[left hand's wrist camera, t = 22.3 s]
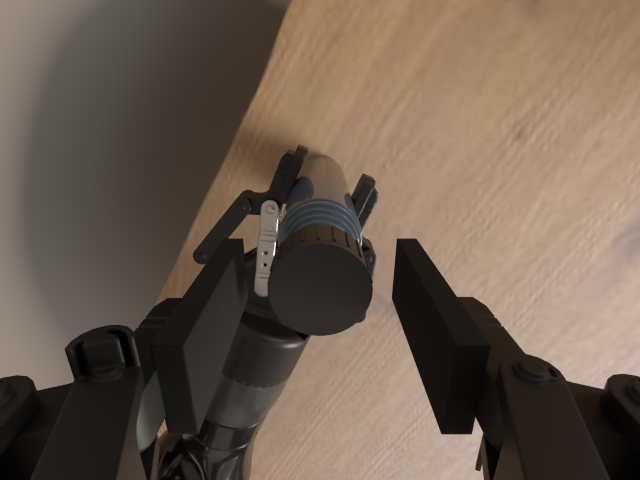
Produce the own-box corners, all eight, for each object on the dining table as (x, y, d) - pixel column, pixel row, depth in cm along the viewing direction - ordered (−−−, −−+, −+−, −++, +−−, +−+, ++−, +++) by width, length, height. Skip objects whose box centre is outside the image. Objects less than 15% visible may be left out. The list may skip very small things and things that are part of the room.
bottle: (291, 160, 30) (253, 238, 13) (341, 152, 29) (370, 222, 12) (299, 207, 31) (276, 334, 14) (347, 200, 31) (380, 321, 14)
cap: (304, 204, 13) (302, 220, 12) (386, 254, 14) (396, 277, 12) (255, 280, 15) (246, 306, 13) (333, 322, 15) (335, 353, 14)
